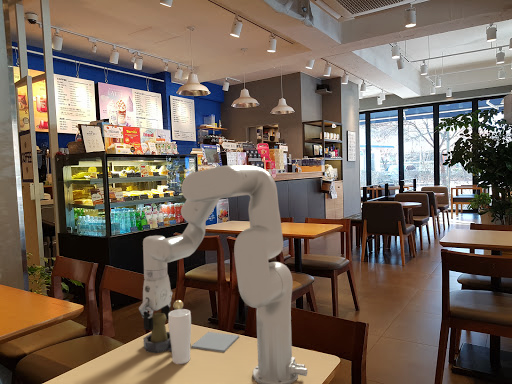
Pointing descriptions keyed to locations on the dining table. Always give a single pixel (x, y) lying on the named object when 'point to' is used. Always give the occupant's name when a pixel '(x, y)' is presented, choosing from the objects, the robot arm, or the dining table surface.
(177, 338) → the drinking glass
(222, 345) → the mat
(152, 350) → the ring stand
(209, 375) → the dining table surface
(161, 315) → the olive rounded tall piece
